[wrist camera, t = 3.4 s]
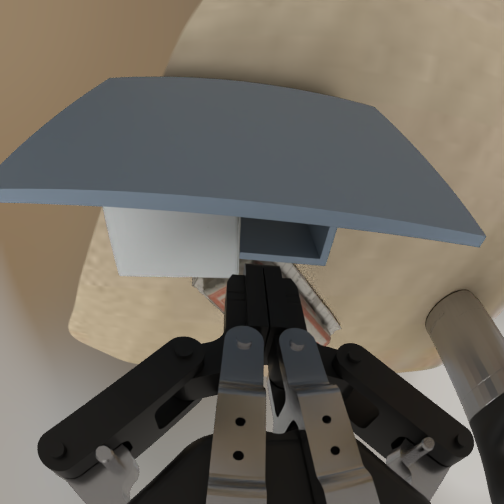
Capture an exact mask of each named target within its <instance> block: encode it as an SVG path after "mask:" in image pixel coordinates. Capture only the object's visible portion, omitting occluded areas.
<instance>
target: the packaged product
mask: <svg viewBox="0 0 504 504" xmlns="http://www.w3.org/2000/svg"><path fill="white" fill-rule="evenodd" d="M245 263H247V264H260V265H274V266H280V268H281V274H282V278H291V279H292V281H293V282H294V283H295V284H296V286H297V288H298V292H299V297H300V301H301V305H302V309H303V314H304V318H305V323H306V327H307V331H308V332H309V333H310V334H311V335H312V336H313V337H314V339H315V341H316V342H317V343H318V344H320V345H323V346H326V345H328V344H329V343H330V340H331V337H330V335H331V334H333V333H334V332H335V331H336V330H339V329H341V327H340V325H339V323H338V322H337V321H336V319H335V318H334V316H333V315H332V313H331V312H330V311H329V309H328V308H327V307H326V306H325V305H324V304H323V303H322V301H321V300H320V299H319V297H318V296H317V294H316V293H315V292H314V290H313V289H312V288H311V287H310V285H309V284H308V282H307V280H306V279H305V277H304V276H303V275H302V274H301V272H300V271H299V270H298V269H297V268H296V267H295V266H294V265H293V264H292V263H284V262H272V261H260V260H248V259H239V274H238V275H243V271H244V265H245ZM228 280H229V278H202V277H192V286H194V287H196V288H197V289H198V290H199V292H200V293H202V294H203V295H204V296H205V297H206V298H207V299H208V300H209V301H210V302H211V303H212V304H214V305H215V306H216V307H217V308H218V309H219V310H220V311H222V313H223V314H224V307H225V297H226V287H227V281H228Z"/></svg>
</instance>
